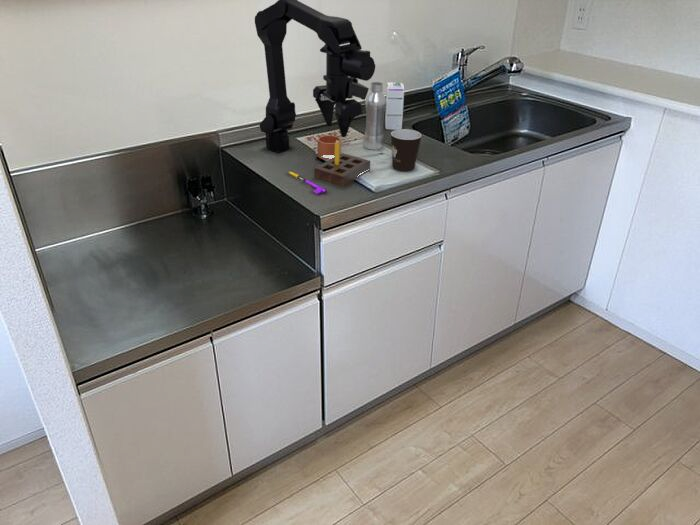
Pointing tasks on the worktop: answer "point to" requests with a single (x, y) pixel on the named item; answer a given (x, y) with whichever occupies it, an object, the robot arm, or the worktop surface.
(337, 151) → the pencil
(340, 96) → the robot arm
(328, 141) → the pen pot
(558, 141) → the worktop surface
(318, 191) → the purple long piece
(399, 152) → the coffee mug
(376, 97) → the silver metal bottle
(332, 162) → the pencil block
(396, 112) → the syrup box
